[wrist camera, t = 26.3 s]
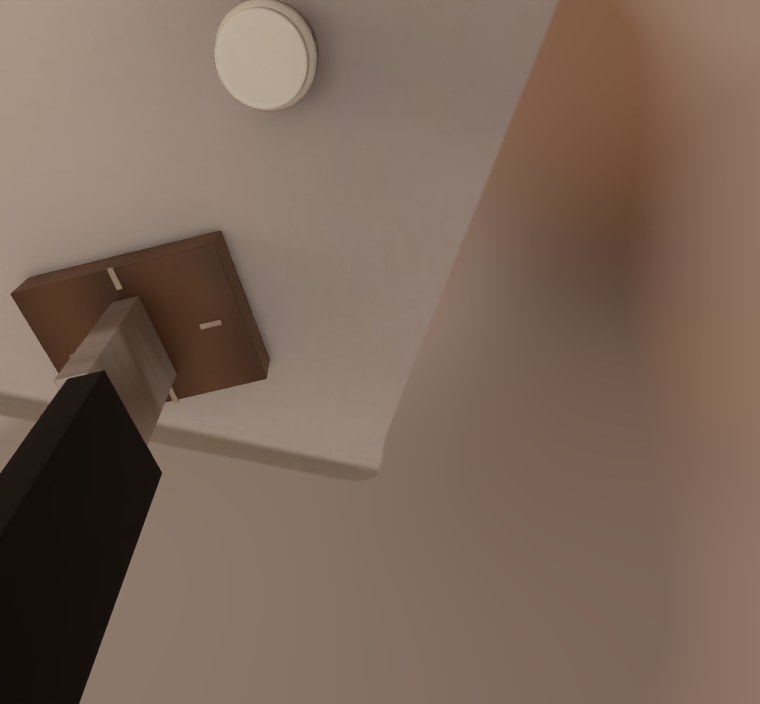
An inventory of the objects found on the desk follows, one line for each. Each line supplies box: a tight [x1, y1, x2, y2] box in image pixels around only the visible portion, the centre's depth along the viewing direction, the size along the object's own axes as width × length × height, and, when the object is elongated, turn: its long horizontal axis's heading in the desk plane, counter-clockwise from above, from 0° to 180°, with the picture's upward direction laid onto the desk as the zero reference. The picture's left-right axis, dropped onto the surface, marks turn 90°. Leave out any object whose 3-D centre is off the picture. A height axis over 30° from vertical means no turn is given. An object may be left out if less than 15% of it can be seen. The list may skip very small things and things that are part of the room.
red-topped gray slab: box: [54, 296, 177, 445], centre depth 34 cm, size 6×2×9 cm, turn 13°
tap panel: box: [11, 231, 270, 403], centre depth 39 cm, size 13×10×3 cm
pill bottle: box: [215, 0, 318, 111], centre depth 29 cm, size 5×5×8 cm
